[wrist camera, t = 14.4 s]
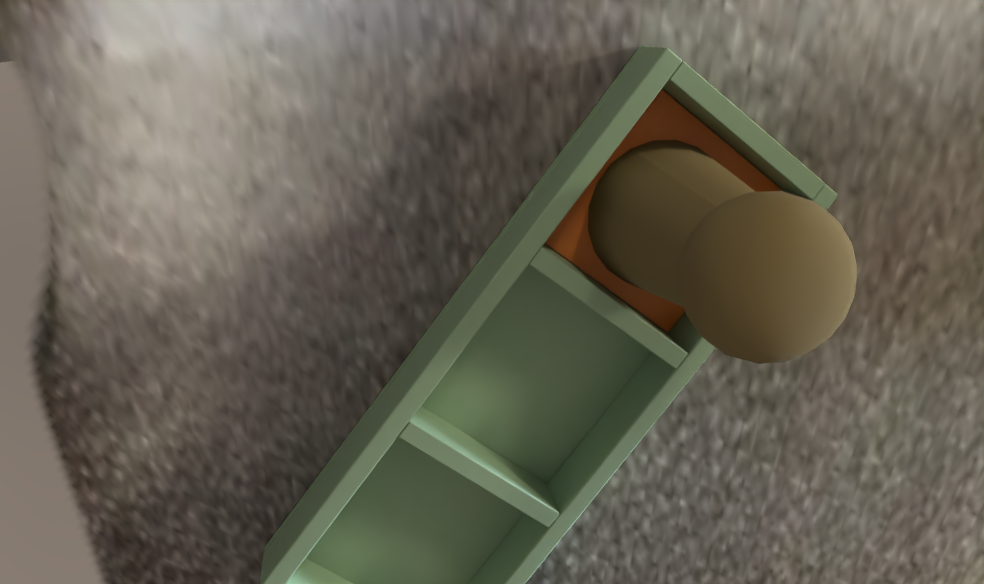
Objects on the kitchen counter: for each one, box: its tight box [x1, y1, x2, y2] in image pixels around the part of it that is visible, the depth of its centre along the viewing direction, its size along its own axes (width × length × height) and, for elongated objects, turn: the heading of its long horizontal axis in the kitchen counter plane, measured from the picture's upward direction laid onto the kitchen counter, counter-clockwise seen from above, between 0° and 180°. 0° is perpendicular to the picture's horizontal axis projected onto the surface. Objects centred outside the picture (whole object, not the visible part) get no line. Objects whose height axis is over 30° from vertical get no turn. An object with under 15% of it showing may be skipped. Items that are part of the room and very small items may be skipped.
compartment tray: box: [259, 46, 838, 584], centre depth 36 cm, size 9×26×3 cm, turn 143°
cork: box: [588, 140, 857, 364], centre depth 30 cm, size 6×6×11 cm
